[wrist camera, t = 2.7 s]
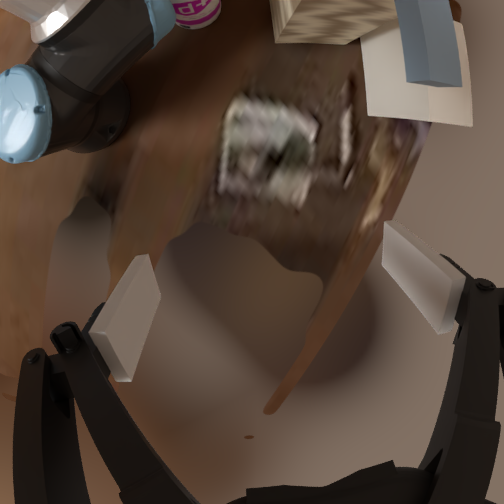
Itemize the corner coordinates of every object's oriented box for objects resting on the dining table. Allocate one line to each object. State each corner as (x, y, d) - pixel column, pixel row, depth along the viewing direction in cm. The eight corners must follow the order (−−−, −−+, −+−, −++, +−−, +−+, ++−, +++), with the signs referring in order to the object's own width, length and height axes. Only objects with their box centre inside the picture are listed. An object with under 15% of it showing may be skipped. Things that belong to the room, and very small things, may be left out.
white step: (367, 115, 45) (429, 121, 28) (359, 36, 38) (416, 8, 21) (405, 117, 45) (472, 127, 28) (398, 41, 38) (462, 23, 21)
